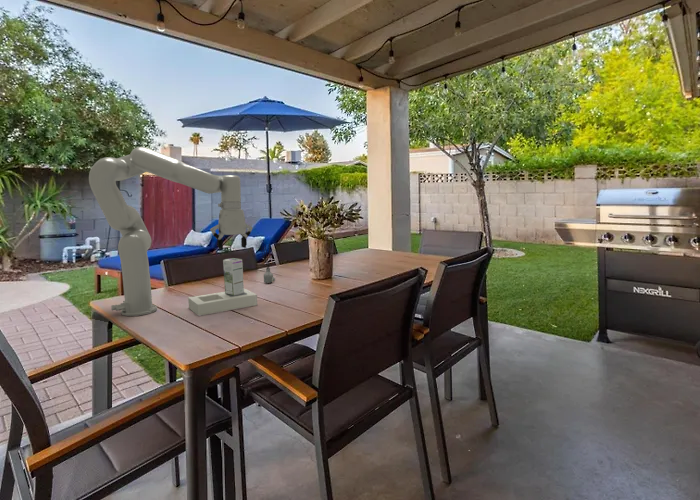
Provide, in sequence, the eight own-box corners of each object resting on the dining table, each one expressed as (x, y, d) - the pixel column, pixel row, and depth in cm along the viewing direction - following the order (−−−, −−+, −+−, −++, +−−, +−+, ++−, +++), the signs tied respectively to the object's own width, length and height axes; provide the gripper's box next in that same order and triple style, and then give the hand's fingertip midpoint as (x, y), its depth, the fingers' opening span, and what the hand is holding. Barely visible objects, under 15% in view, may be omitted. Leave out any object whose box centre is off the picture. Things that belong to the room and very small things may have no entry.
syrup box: (244, 292, 173) (243, 258, 171) (233, 296, 168) (231, 260, 166) (235, 291, 176) (233, 257, 174) (224, 294, 172) (222, 259, 169)
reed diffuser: (269, 285, 207) (268, 245, 203) (256, 284, 208) (255, 245, 205) (277, 280, 216) (276, 242, 213) (265, 280, 218) (263, 242, 215)
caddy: (198, 316, 158) (197, 304, 157) (188, 308, 168) (188, 296, 168) (257, 305, 172) (256, 294, 171) (245, 298, 182) (244, 288, 182)
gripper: (212, 207, 159) (214, 251, 162) (255, 206, 169) (256, 247, 172) (206, 206, 165) (208, 248, 168) (247, 205, 175) (248, 245, 178)
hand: (232, 248), depth 170 cm, fingers open, 9 cm apart
